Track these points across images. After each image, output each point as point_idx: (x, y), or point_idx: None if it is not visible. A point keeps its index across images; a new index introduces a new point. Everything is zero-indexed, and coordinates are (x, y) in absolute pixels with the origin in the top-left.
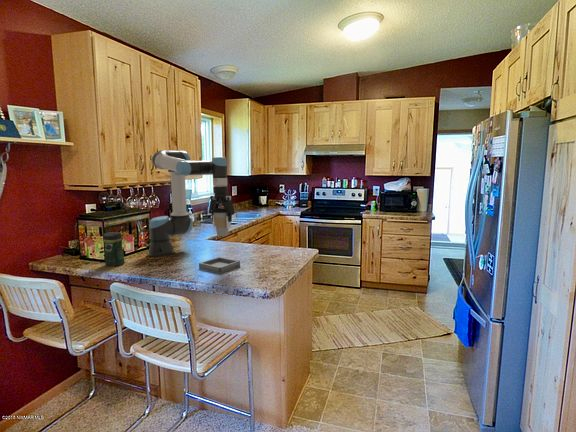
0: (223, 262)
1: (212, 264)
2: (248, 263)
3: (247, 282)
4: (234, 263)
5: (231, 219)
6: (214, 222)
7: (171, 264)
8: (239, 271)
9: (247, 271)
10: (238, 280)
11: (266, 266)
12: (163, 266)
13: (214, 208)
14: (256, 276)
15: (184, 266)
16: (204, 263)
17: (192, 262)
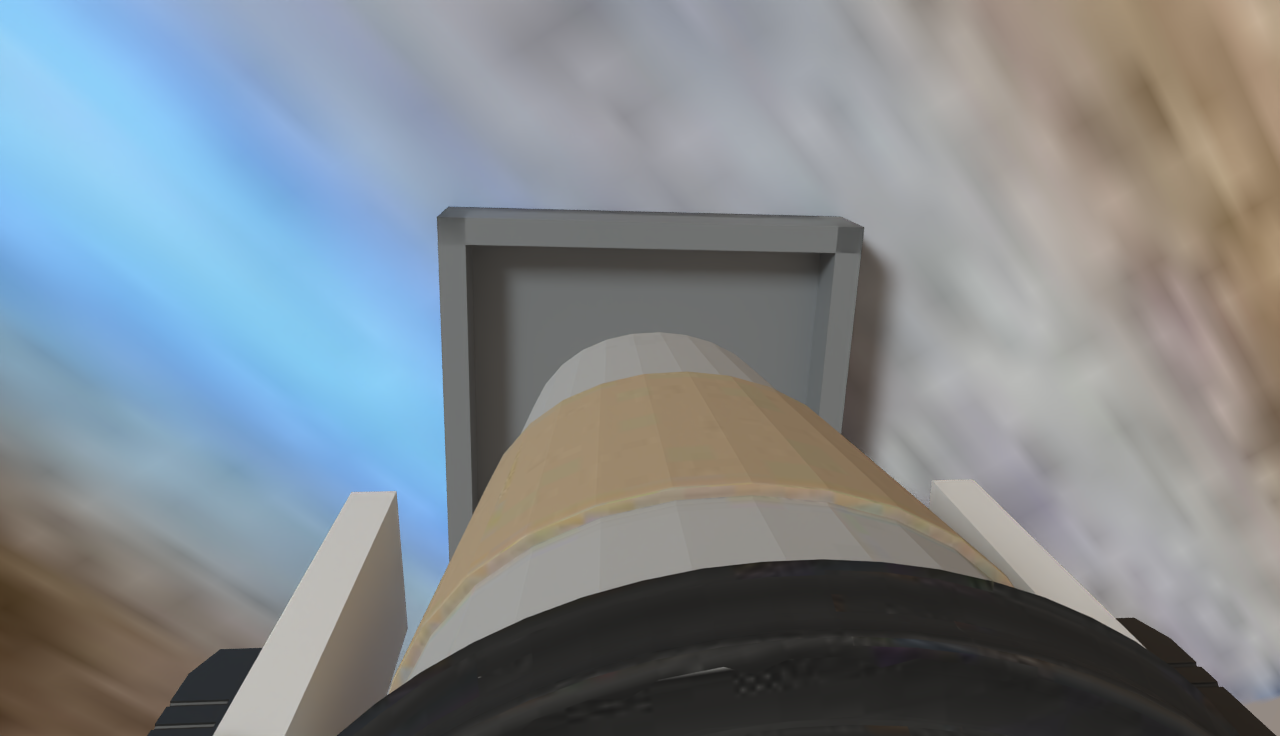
0: (581, 262)
1: (524, 406)
2: (863, 40)
3: (1218, 587)
4: (849, 333)
5: (1199, 678)
6: (377, 691)
7: (17, 606)
8: (957, 378)
9: (1043, 330)
10: (1109, 592)
11: (1166, 29)
12: (25, 698)
13: None
14: (1222, 413)
15: (234, 576)
16: (474, 504)
17: (151, 414)
